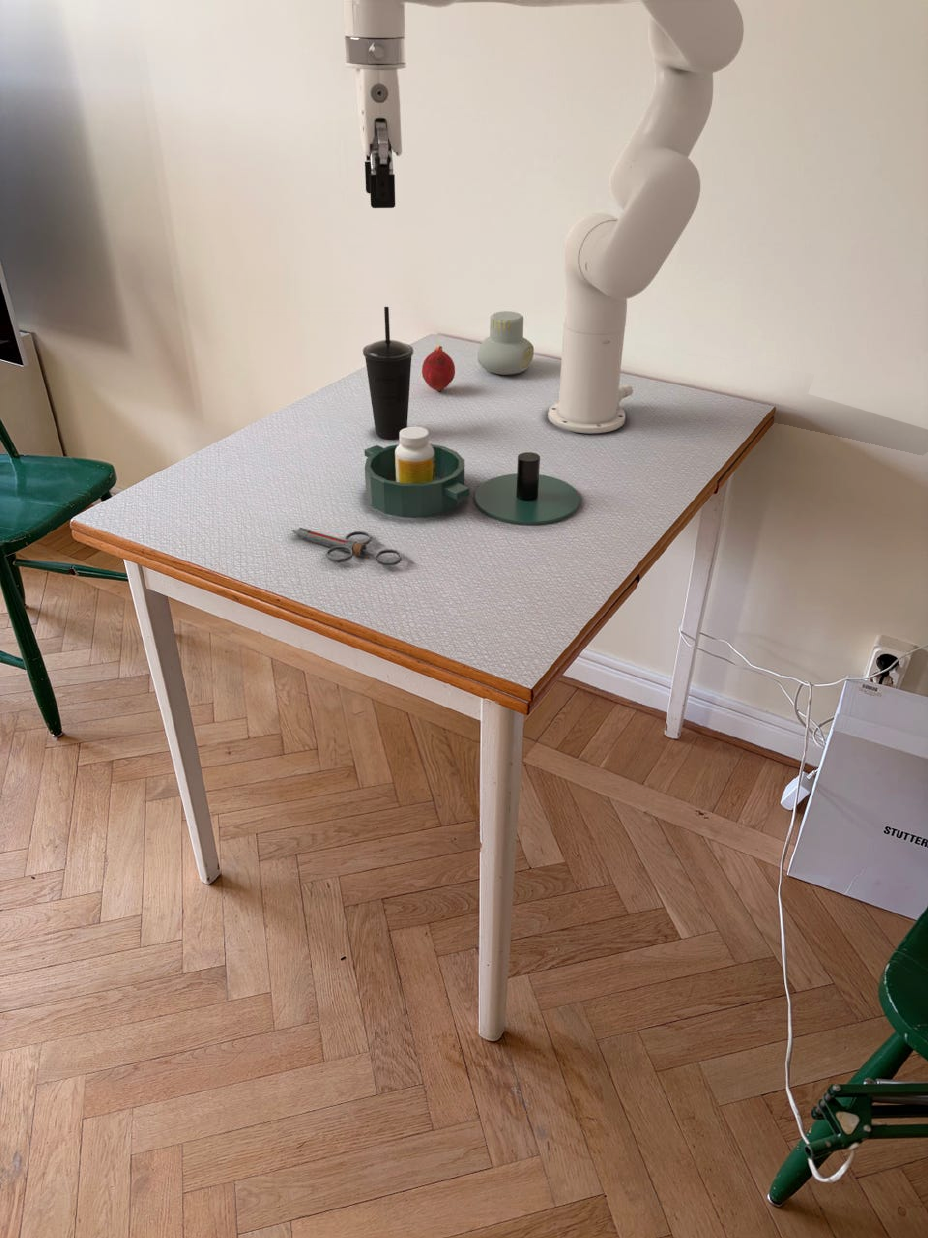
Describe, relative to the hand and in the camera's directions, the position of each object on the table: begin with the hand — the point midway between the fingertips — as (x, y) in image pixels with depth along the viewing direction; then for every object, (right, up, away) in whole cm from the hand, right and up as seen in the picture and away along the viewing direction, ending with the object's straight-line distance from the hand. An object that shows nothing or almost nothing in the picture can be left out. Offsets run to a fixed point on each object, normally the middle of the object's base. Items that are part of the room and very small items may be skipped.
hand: (380, 199), depth 128 cm
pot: (+5, -40, +4) cm, 41 cm away
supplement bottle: (+5, -40, +4) cm, 40 cm away
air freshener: (+19, -11, +46) cm, 51 cm away
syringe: (-5, -48, -8) cm, 49 cm away
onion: (+7, -17, +37) cm, 42 cm away
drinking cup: (0, -28, +22) cm, 35 cm away
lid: (+20, -41, +3) cm, 45 cm away
